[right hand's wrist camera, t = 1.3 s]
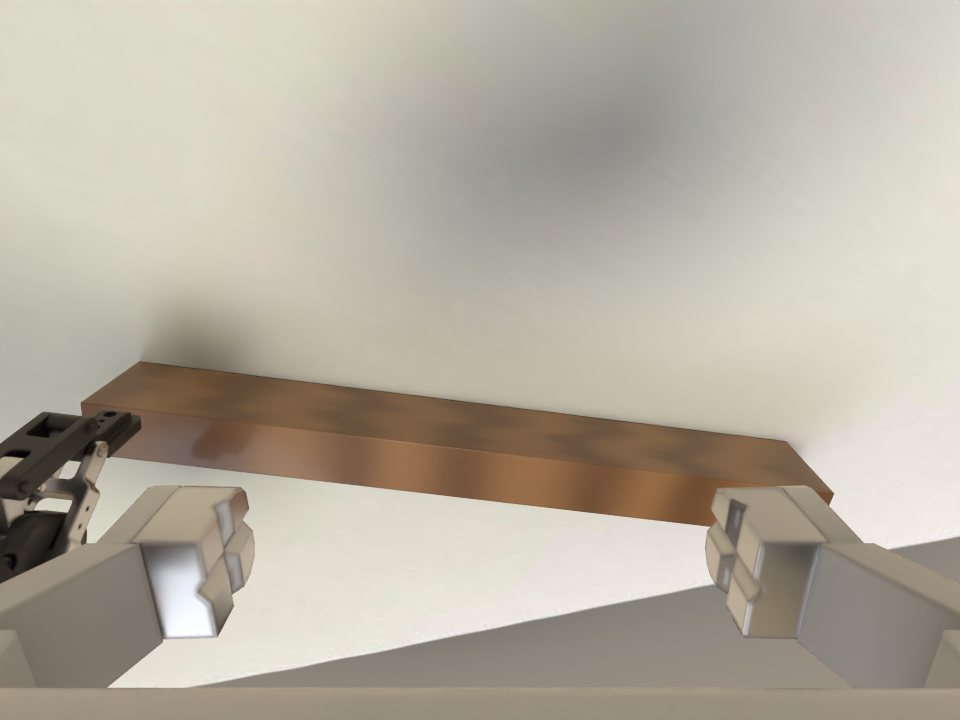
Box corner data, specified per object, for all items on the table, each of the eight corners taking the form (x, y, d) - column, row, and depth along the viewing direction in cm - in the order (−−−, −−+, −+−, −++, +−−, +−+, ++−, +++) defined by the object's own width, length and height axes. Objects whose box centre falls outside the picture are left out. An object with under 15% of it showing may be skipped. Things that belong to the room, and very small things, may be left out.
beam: (786, 441, 50) (834, 493, 43) (770, 482, 52) (815, 539, 45) (139, 361, 48) (80, 402, 41) (143, 406, 50) (86, 454, 43)
